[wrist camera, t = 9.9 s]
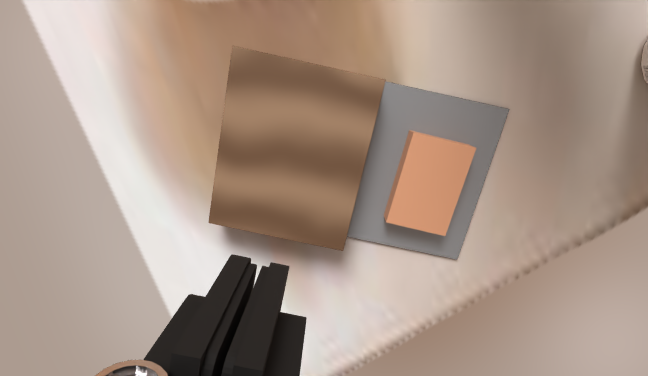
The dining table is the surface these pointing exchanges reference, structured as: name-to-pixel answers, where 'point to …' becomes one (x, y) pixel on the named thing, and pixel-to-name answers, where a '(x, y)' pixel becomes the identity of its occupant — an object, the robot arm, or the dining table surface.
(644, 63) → the supplement can
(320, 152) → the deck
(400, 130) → the mat
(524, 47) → the dining table surface
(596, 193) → the dining table surface
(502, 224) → the dining table surface
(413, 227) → the peach rectangular tile
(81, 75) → the dining table surface
